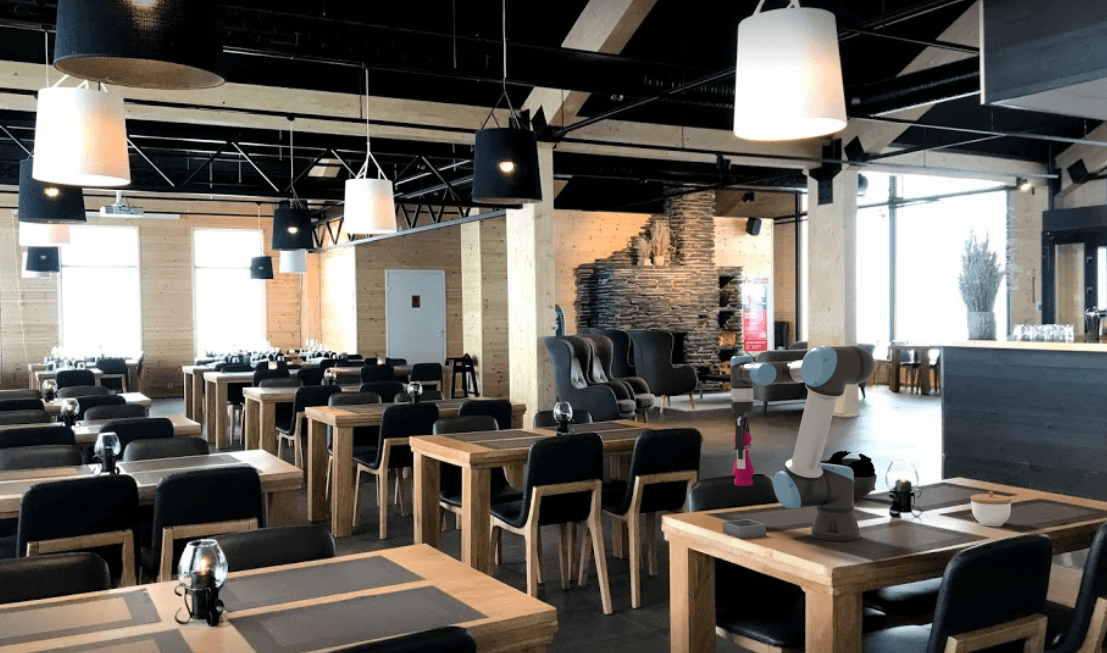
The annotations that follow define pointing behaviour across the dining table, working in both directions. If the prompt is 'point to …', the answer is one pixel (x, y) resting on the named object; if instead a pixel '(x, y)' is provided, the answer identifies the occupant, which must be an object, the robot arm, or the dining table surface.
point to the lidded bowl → (991, 508)
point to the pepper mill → (745, 474)
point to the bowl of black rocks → (858, 473)
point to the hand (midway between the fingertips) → (743, 467)
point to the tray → (744, 528)
